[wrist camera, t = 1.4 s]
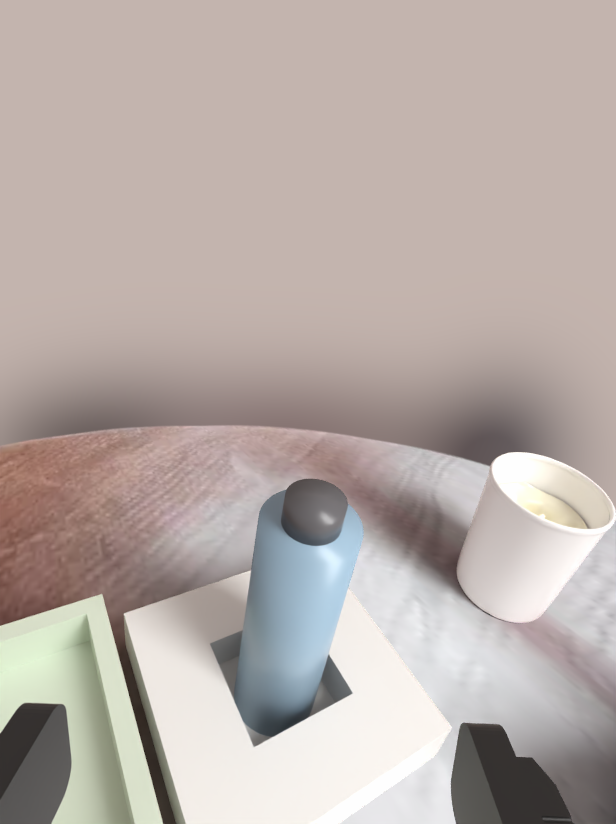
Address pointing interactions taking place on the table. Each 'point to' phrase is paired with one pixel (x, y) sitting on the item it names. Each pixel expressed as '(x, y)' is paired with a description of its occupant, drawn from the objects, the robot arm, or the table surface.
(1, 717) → the tray
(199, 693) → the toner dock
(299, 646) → the bottle
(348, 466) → the table surface
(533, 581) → the candle holder
